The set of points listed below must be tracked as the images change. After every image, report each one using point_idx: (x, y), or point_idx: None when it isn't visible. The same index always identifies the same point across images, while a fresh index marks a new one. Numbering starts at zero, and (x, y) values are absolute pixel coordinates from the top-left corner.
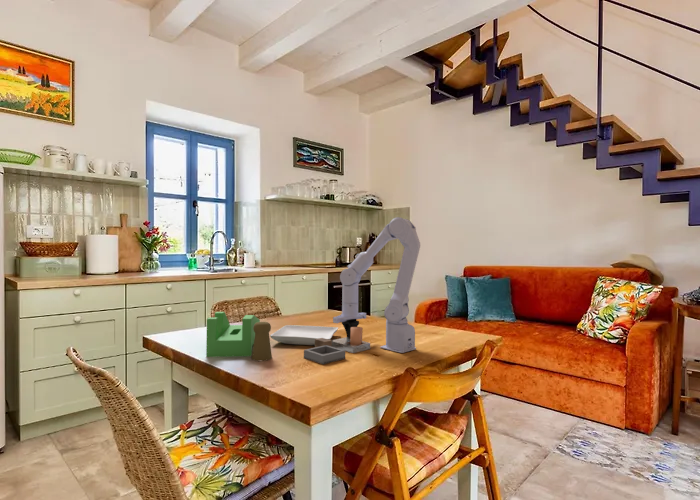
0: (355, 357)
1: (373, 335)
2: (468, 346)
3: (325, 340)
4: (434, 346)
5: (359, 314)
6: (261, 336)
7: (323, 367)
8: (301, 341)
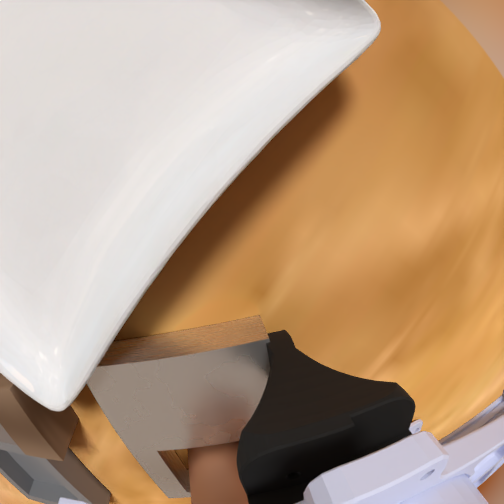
0: (153, 498)
1: (493, 218)
2: None
3: (29, 442)
4: None
5: (489, 461)
6: None
7: None
8: None
